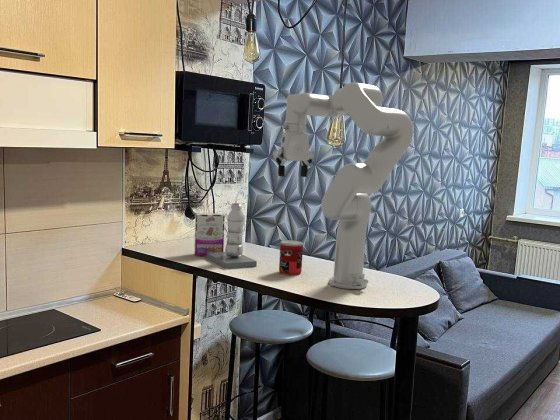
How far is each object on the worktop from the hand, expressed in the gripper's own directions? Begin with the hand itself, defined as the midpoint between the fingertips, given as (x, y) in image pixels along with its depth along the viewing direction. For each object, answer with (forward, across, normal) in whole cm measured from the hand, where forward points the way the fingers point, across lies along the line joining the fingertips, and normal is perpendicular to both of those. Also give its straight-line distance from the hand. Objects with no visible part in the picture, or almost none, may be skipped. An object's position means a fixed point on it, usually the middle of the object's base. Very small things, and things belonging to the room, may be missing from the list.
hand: (292, 176), depth 199 cm
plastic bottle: (+32, -17, +11) cm, 37 cm away
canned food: (+34, -5, -10) cm, 35 cm away
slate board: (+33, -18, +11) cm, 39 cm away
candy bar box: (+34, -21, +25) cm, 47 cm away
